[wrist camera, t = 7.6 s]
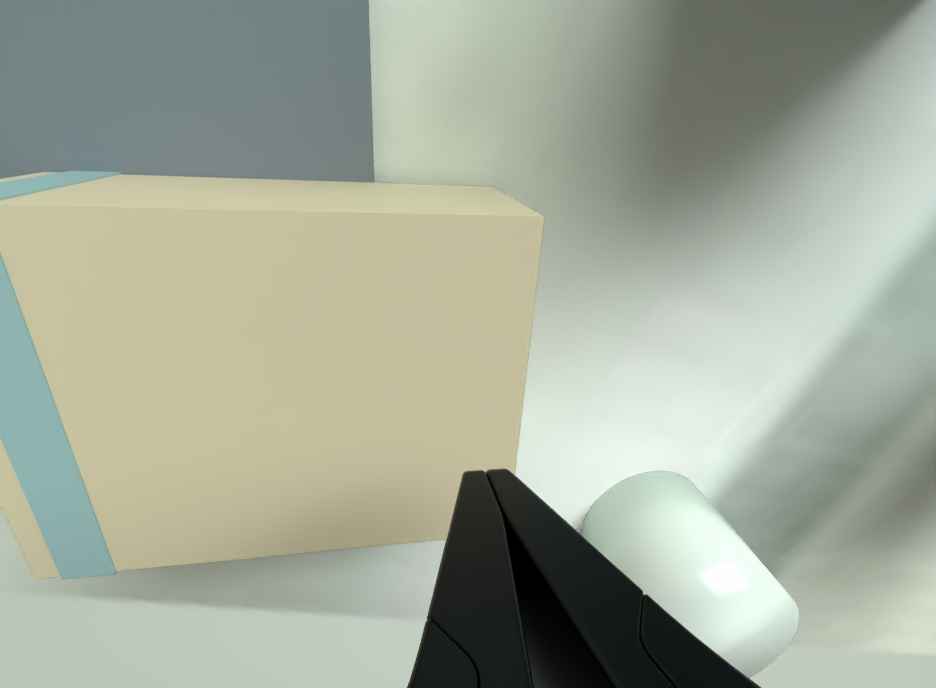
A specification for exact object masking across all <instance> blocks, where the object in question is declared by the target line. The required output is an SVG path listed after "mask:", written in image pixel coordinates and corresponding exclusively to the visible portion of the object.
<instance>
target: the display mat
mask: <svg viewBox="0 0 936 688" xmlns="http://www.w3.org/2000/svg"><path fill="white" fill-rule="evenodd" d="M65 171H98V172H121V173H122V174H123V175H154V176H185V177H216V178H246V179H277V180H308V181H339V182H370V183H374V168H373V135H372V103H371V70H370V38H369V5H368V0H0V179H3V178H9V177H16V176H22V175H28V174H34V173H41V172H65Z"/></svg>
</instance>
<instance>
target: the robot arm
mask: <svg viewBox="0 0 936 688" xmlns="http://www.w3.org/2000/svg"><path fill="white" fill-rule="evenodd" d="M407 688H761V687H760V686H758V685H757V684H756V683H754V682H753V681H751V680H750V679H749V678H748V677H747V676H745V675H744V674H743V673H741V672H740V671H739V670H737V669H736V668H735V667H733V666H732V665H731V664H730V663H728V662H727V661H726V660H725V659H723V658H722V657H721V656H719V655H718V654H717V653H716V652H714V651H713V650H712V649H711V648H709V647H708V646H707V645H706V644H704V643H703V642H702V641H701V640H699V639H698V638H697V637H696V636H694V635H693V634H692V633H691V632H690V631H689V630H687V629H686V628H685V627H684V626H683V625H682V624H680V623H679V622H678V621H677V620H676V619H675V618H673V617H672V616H671V615H670V614H669V613H668V612H666V611H665V610H664V609H663V608H662V607H661V606H660V605H659V604H658V603H656V602H655V601H654V600H653V599H652V598H651V597H650V596H649V595H647V594H644V595H643V590H642V589H641V588H640V587H638V586H637V585H636V584H635V583H634V582H633V581H632V580H631V579H630V578H628V577H627V576H626V575H625V574H624V573H623V572H622V571H621V570H620V569H618V568H617V567H616V566H615V565H614V564H613V563H612V562H611V561H610V560H608V559H607V558H606V557H605V556H604V555H603V554H602V553H601V552H600V551H598V550H597V549H596V548H595V547H594V546H593V545H592V544H591V543H590V542H588V541H587V540H586V539H585V538H584V537H583V536H582V535H581V534H580V533H578V532H577V531H576V530H575V529H574V528H573V527H572V526H571V525H570V524H568V523H567V522H566V521H565V520H564V519H563V518H562V517H561V516H560V515H558V514H557V513H556V512H555V511H554V510H553V509H552V508H551V507H550V506H548V505H547V504H546V503H545V502H544V501H543V500H542V499H541V498H540V497H538V496H537V495H536V494H535V493H534V492H533V491H532V490H531V489H530V488H528V487H527V486H526V485H525V484H524V483H523V482H522V481H521V480H520V479H518V478H517V477H516V476H515V475H514V474H513V473H512V472H511V471H509V470H508V469H504V468H503V469H489V470H487V471H486V472H485V471H483V470H474V471H465V472H464V473H463V475H462V479H461V483H460V487H459V491H458V495H457V499H456V503H455V507H454V511H453V515H452V519H451V523H450V527H449V531H448V535H447V539H446V543H445V547H444V551H443V555H442V559H441V563H440V567H439V571H438V575H437V580H436V584H435V588H434V592H433V596H432V600H431V604H430V608H429V612H428V616H427V621H426V623H425V627H424V631H423V635H422V639H421V643H420V647H419V651H418V654H417V657H416V661H415V664H414V668H413V671H412V675H411V678H410V681H409V684H408V687H407Z"/></svg>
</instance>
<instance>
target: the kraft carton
mask: <svg viewBox="0 0 936 688" xmlns="http://www.w3.org/2000/svg"><path fill="white" fill-rule="evenodd" d="M543 225H544V216H543V215H541V214H539V213H538V212H536V211H534V210H533V209H531V208H529V207H527V206H526V205H524V204H522V203H521V202H519V201H517V200H516V199H514V198H512V197H510V196H509V195H507V194H505V193H504V192H502V191H500V190H499V189H497V188H495V187H493V186H462V185H431V184H401V183H370V182H339V181H308V180H277V179H246V178H216V177H185V176H154V175H123V174H122V173H121V172H98V171H65V172H41V173H34V174H28V175H22V176H16V177H9V178H3V179H0V506H1V508H2V510H3V512H4V514H5V517H6V519H7V521H8V523H9V525H10V527H11V529H12V532H13V534H14V536H15V538H16V540H17V542H18V544H19V547H20V549H21V551H22V553H23V555H24V557H25V559H26V562H27V564H28V566H29V568H30V570H31V572H32V574H33V577H34V579H42V578H52V577H61V579H62V580H64V579H74V578H84V577H94V576H104V575H115V574H116V573H117V571H125V570H135V569H145V568H156V567H166V566H176V565H187V564H197V563H207V562H218V561H228V560H238V559H248V558H259V557H269V556H279V555H290V554H300V553H310V552H321V551H331V550H341V549H352V548H362V547H372V546H383V545H393V544H403V543H414V542H424V541H434V540H445V539H447V535H448V531H449V527H450V523H451V519H452V515H453V511H454V507H455V503H456V499H457V495H458V491H459V487H460V483H461V479H462V475H463V473H464V472H465V471H474V470H483V471H485V472H486V471H487V470H489V469H503V468H504V469H508V470H509V471H511V472H512V473H513V474H514V475H515V469H516V461H517V452H518V443H519V435H520V426H521V417H522V408H523V400H524V391H525V382H526V374H527V365H528V356H529V347H530V339H531V330H532V321H533V313H534V304H535V295H536V286H537V278H538V269H539V260H540V252H541V243H542V234H543Z"/></svg>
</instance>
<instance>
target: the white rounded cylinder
mask: <svg viewBox="0 0 936 688" xmlns="http://www.w3.org/2000/svg"><path fill="white" fill-rule="evenodd" d="M581 534H582V536H583V537H584V538H585V539H586V540H587V541H588V542H590V543H591V544H592V545H593V546H594V547H595V548H596V549H597V550H598V551H600V552H601V553H602V554H603V555H604V556H605V557H606V558H607V559H608V560H610V561H611V562H612V563H613V564H614V565H615V566H616V567H617V568H618V569H620V570H621V571H622V572H623V573H624V574H625V575H626V576H627V577H628V578H630V579H631V580H632V581H633V582H634V583H635V584H636V585H637V586H638V587H640V588H641V589H642V590H643V595H644V594H647V595H649V596H650V597H651V598H652V599H653V600H654V601H655V602H656V603H658V604H659V605H660V606H661V607H662V608H663V609H664V610H665V611H666V612H668V613H669V614H670V615H671V616H672V617H673V618H675V619H676V620H677V621H678V622H679V623H680V624H682V625H683V626H684V627H685V628H686V629H687V630H689V631H690V632H691V633H692V634H693V635H694V636H696V637H697V638H698V639H699V640H701V641H702V642H703V643H704V644H706V645H707V646H708V647H709V648H711V649H712V650H713V651H714V652H716V653H717V654H718V655H719V656H721V657H722V658H723V659H725V660H726V661H727V662H728V663H730V664H731V665H732V666H733V667H735V668H736V669H737V670H739V671H740V672H741V673H743V674H744V675H745V676H747V677H748V678H750V677H752V676H753V675H755V674H757V673H758V672H760V671H761V670H763V669H764V668H765V667H767V666H768V665H769V664H770V663H771V662H773V661H774V660H775V659H776V658H777V657H778V656H779V655H780V654H781V653H782V652H783V651H784V650H785V649H786V647H787V646H788V645H789V643H790V642H791V640H792V639H793V637H794V635H795V633H796V630H797V628H798V624H799V616H800V615H799V609H798V607H797V604H796V603H795V601H794V600H793V599H792V597H791V596H790V595H789V594H788V593H787V592H786V590H785V589H784V588H783V587H782V586H781V585H780V583H779V582H778V581H777V580H776V579H775V578H774V576H773V575H772V574H771V573H770V572H769V571H768V569H767V568H766V567H765V566H764V565H763V564H762V562H761V561H760V560H759V559H758V558H757V557H756V555H755V554H754V553H753V552H752V551H751V550H750V548H749V547H748V546H747V545H746V544H745V542H744V541H743V540H742V539H741V538H740V537H739V535H738V534H737V533H736V532H735V531H734V530H733V528H732V527H731V526H730V525H729V524H728V523H727V521H726V520H725V519H724V518H723V517H722V516H721V514H720V513H719V512H718V511H717V510H716V509H715V507H714V506H713V505H712V504H711V503H710V502H709V500H708V499H707V498H706V497H705V496H704V495H703V493H702V492H701V491H700V490H699V489H698V488H697V486H696V485H695V484H694V483H693V482H692V481H691V480H690V479H688V478H687V477H685V476H683V475H681V474H678V473H674V472H669V471H652V472H646V473H642V474H638V475H635V476H632V477H629V478H627V479H625V480H623V481H621V482H619V483H617V484H616V485H614V486H613V487H611V488H610V489H608V490H607V491H606V492H605V493H604V494H602V495H601V496H600V497H599V498H598V499H597V500H596V501H595V503H594V504H593V505H592V507H591V508H590V510H589V511H588V513H587V515H586V517H585V519H584V522H583V526H582V533H581Z"/></svg>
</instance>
